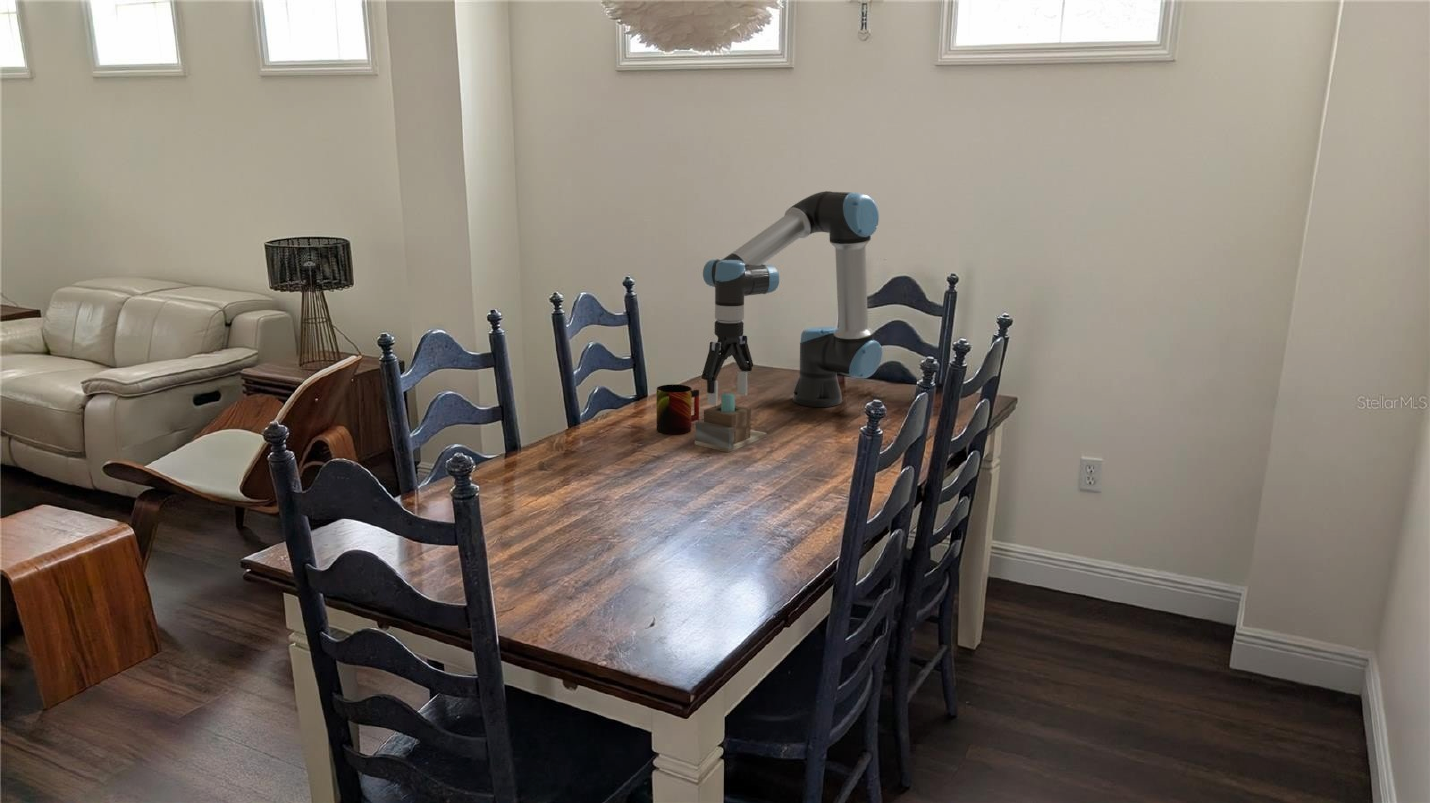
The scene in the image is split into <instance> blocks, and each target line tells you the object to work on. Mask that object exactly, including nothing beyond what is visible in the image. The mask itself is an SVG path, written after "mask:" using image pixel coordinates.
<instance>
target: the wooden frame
mask: <svg viewBox="0 0 1430 803" xmlns="http://www.w3.org/2000/svg"><path fill="white" fill-rule="evenodd" d="M694 424H695V425H694V428H695V429H694V430H695V431H694V435H695V436H694V445H696V446H701V447H705V448H709V449H713V450H718V451H721V452H722V451H723V452H727V453H731V452H733V451H736V450H738V449H740V448H742V447H744V446H747V445H749V444H750V445H751V444H752V443H754V442H757V441H759V440H761V439H764V438H766V437H767V432H763V431H758V430H755V429H750V438H748V439H746V440H743V441H741V442H738V443H736V444H734V428H731V427H726V426H721V425H717V424H712V423H707V422H704V420H703V421H702V420H697V421H694Z"/></svg>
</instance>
